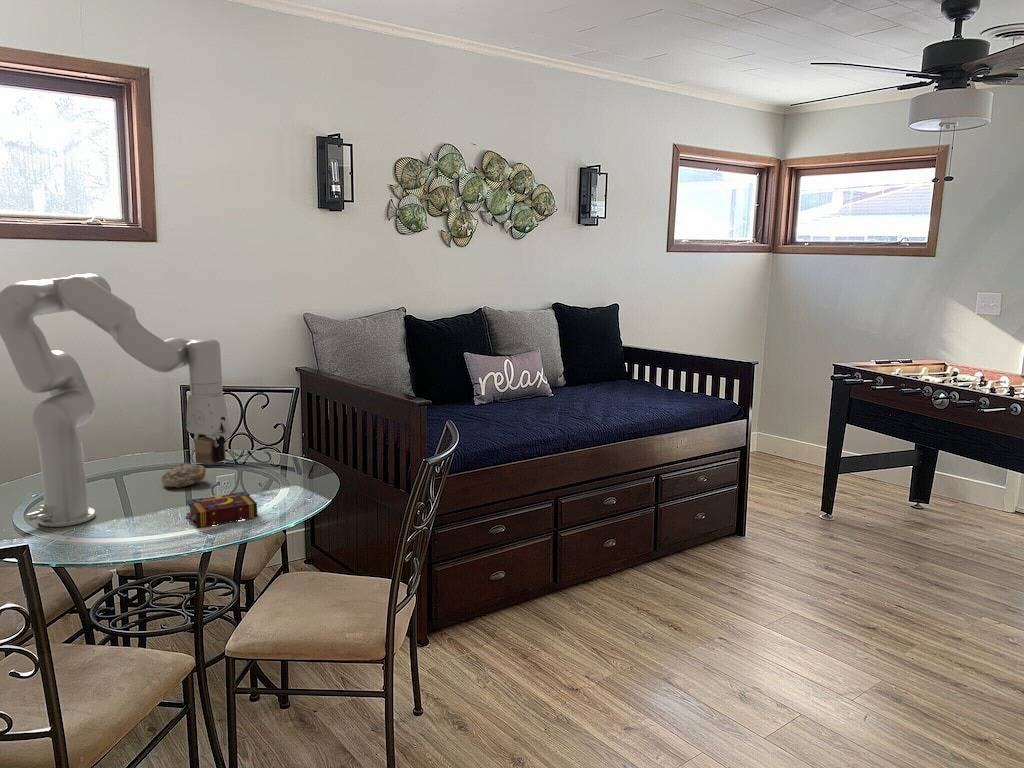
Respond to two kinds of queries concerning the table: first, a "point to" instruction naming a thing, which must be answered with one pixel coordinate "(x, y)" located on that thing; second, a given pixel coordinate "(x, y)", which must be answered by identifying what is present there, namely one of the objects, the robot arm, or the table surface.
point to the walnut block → (205, 450)
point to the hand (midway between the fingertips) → (210, 458)
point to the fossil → (184, 475)
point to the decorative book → (221, 509)
